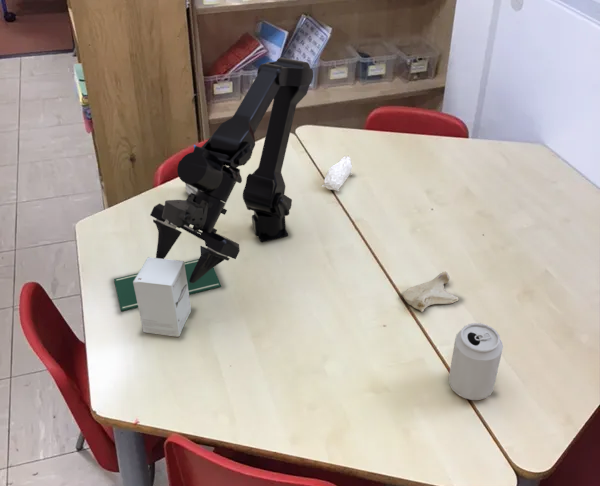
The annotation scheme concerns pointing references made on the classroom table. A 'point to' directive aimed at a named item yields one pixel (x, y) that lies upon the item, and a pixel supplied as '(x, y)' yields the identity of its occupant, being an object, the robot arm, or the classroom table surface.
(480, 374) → the can
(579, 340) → the classroom table surface
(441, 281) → the fossil
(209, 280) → the green mat
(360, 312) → the classroom table surface
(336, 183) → the white crumpled lump
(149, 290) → the white packaging box
